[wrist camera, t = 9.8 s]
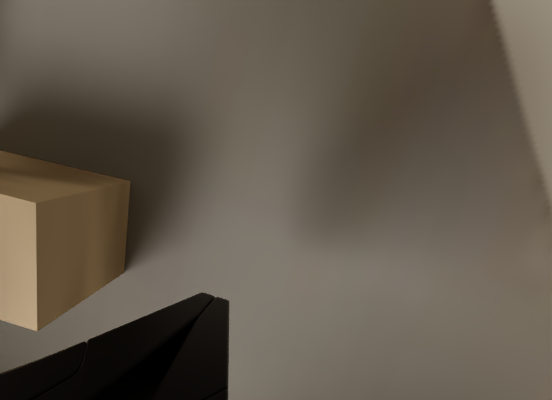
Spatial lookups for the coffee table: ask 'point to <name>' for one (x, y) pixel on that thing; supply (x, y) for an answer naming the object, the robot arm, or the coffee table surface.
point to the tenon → (56, 237)
